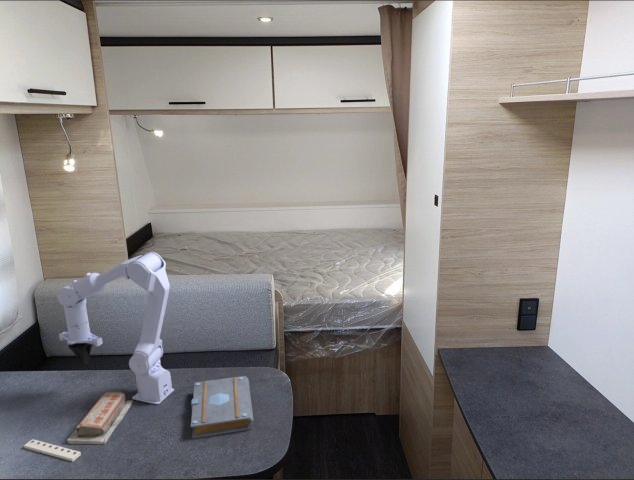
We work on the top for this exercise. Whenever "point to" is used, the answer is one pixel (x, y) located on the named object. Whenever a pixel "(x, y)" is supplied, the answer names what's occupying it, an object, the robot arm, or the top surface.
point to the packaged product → (101, 419)
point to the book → (221, 407)
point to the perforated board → (52, 450)
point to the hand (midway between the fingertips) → (84, 363)
